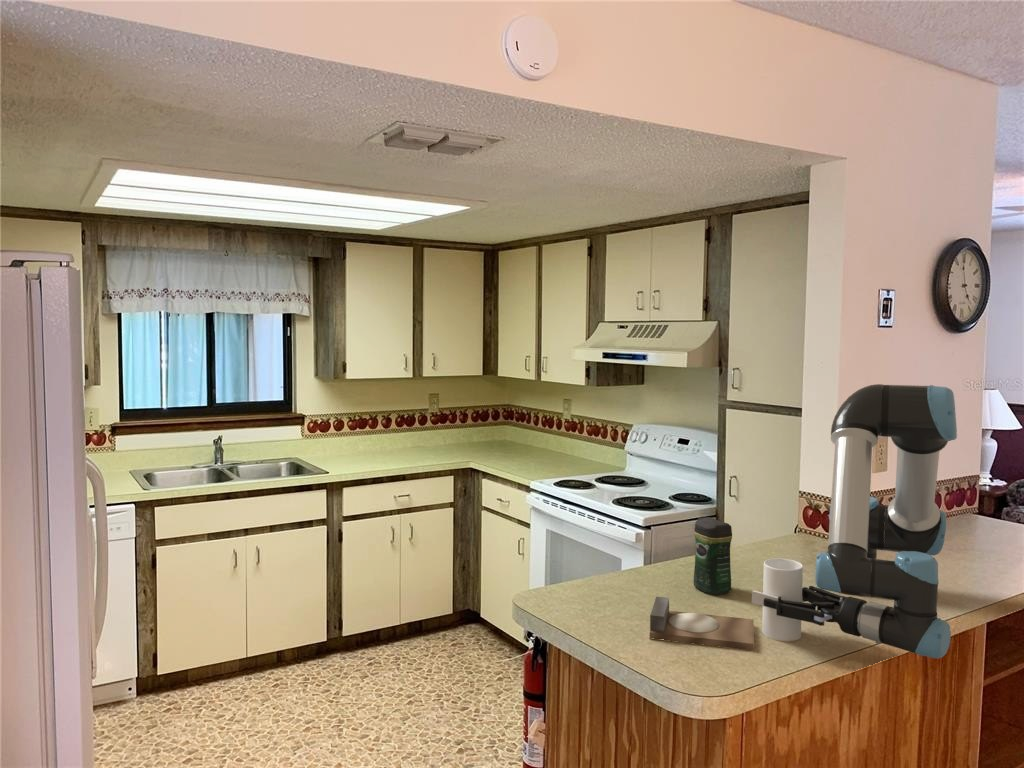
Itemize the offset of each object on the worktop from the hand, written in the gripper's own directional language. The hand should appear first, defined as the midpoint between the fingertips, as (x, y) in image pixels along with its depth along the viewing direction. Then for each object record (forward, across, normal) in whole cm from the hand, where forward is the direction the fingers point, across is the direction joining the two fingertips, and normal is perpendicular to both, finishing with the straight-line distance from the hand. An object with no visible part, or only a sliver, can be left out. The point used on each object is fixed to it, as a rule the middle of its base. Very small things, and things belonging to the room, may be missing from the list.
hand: (763, 591), depth 175 cm
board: (+8, -12, -8) cm, 17 cm away
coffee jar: (+22, +14, -9) cm, 27 cm away
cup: (-5, 0, -9) cm, 10 cm away
